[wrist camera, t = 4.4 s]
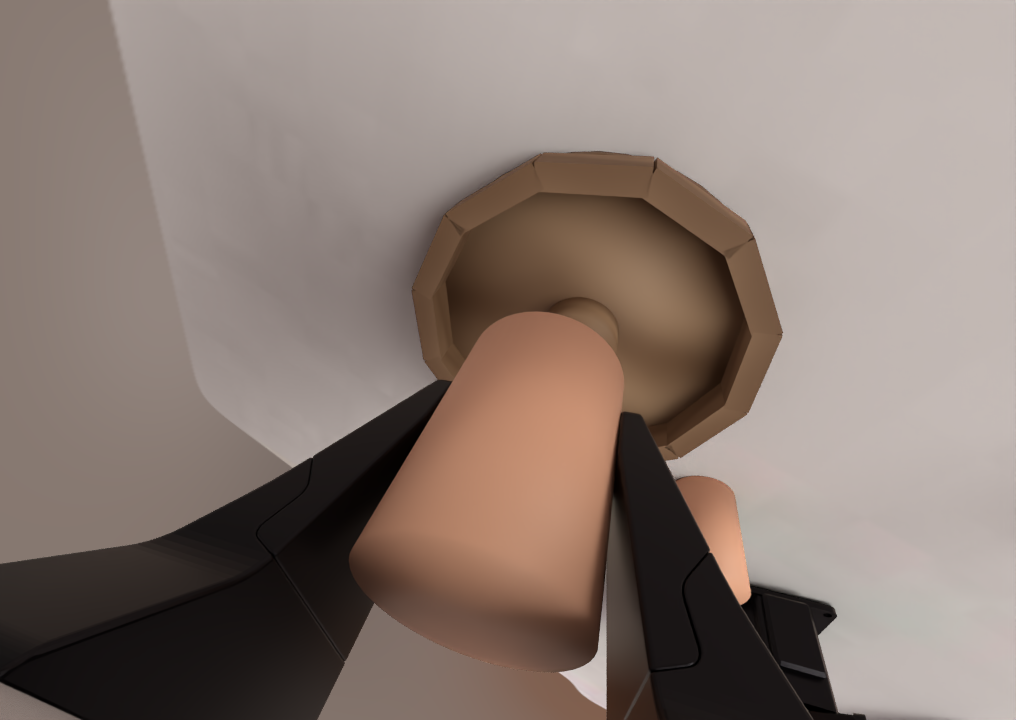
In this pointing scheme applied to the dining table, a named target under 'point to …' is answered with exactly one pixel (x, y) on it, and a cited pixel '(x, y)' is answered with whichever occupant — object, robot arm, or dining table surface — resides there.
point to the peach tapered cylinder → (719, 528)
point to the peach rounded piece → (506, 501)
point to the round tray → (611, 283)
